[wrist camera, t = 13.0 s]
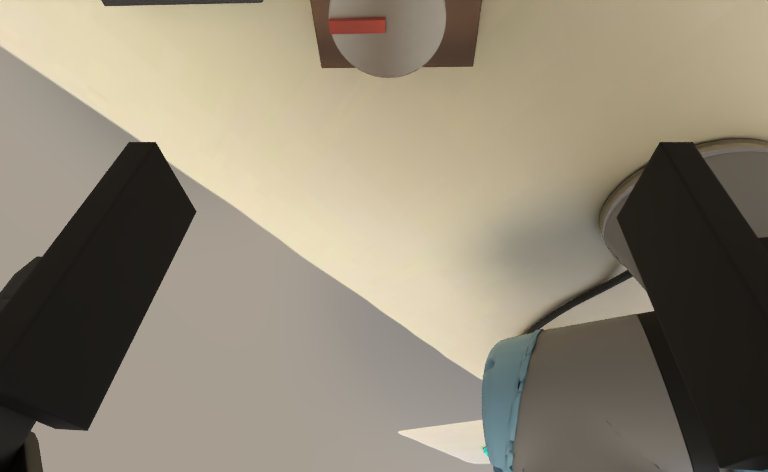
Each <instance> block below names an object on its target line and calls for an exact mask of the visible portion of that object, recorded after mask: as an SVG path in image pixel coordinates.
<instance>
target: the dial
mask: <svg viewBox="0 0 768 472" xmlns="http://www.w3.org/2000/svg"><path fill="white" fill-rule="evenodd" d="M445 25H446V8H445V0H330V5H329V29H330V34H332V37H333V39H334V42H335V44H336V46H337V47H338V49H339V51H340V52H341V54H342V55H343V56H344V57H345V58H346V59H347V60H348V61H349V62H350V63H351V64H352V65H353V66H355V67H356V68H357V69H359V70H361V71H362V72H365V73H367V74H370V75H373V76H377V77H383V78H393V77H400V76H404V75H407V74H410V73H412V72H414V71H416V70H417V69H419V68H421V67H422V66H423V65H424V64H426V63H427V62H428V61H429V60H430V59H431V57H432V56H433V55H434V54H435V52H436V51H437V49H438V47H439V45H440V43H441V41H442V38H443V35H444V31H445Z"/></svg>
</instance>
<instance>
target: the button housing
mask: <svg viewBox="0 0 768 472" xmlns="http://www.w3.org/2000/svg"><path fill="white" fill-rule="evenodd" d="M102 2H103V4H104V6H130V5H176V4H221V3H262V2H263V0H102Z"/></svg>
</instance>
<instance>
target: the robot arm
mask: <svg viewBox="0 0 768 472" xmlns="http://www.w3.org/2000/svg"><path fill="white" fill-rule="evenodd" d="M195 213H196V210H195V208H194V207H193V205H192V203H191V202H190V200H189V198H188V196H187V195H186V193H185V191H184V190H183V188H182V186H181V185H180V183H179V181H178V179H177V178H176V176H175V174H174V173H173V171H172V170H171V168H170V166H169V164H168V162H167V161H166V159H165V157H164V156H163V154H162V152H161V150H160V149H159V147H158V145H157V144H156V142H129V143H128V144H127V146H126V147H125V148H124V150H123V151H122V152H121V154H120V155H119V156H118V158H117V159H116V160H115V162H114V163H113V165H112V166H111V167H110V168H109V169H108V171H107V172H106V173H105V175H104V176H103V177H102V179H101V180H100V182H99V183H98V184H97V185H96V187H95V188H94V189H93V191H92V192H91V193H90V195H89V196H88V197H87V199H86V200H85V201H84V203H83V204H82V205H81V207H80V208H79V209H78V211H77V212H76V213H75V214H74V216H73V217H72V218H71V220H70V221H69V222H68V224H67V225H66V226H65V228H64V229H63V230H62V232H61V233H60V234H59V236H58V237H57V238H56V239H55V241H54V242H53V243H52V245H51V246H50V247H49V249H48V250H47V251H46V253H45V254H44V255H43V257H36V258H34V259H33V260H32V261H31V262H29V263H28V264H27V265H26V266H24V267H23V268H22V269H21V270H20V271H18V272H17V273H16V274H14V276H13V277H12V278H11V280H10V281H9V282H8V283H7V285H6V286H5V287H4V288H3V290H2V291H1V292H0V472H43V469H42V463H41V456H40V449H39V443H38V440H37V438H36V435H35V434H34V433H33V432H31V429H32V427H33V425H34V424H35V422H36V421H38V422H40V423H43V424H45V425H47V426H50V427H52V428H55V429H69V430H84V431H87V430H88V428H89V427H90V425H91V423H92V421H93V419H94V417H95V415H96V413H97V411H98V409H99V407H100V405H101V403H102V401H103V399H104V397H105V395H106V393H107V391H108V388H109V387H110V385H111V383H112V381H113V379H114V376H115V374H116V373H117V370H118V368H119V367H120V364H121V362H122V360H123V358H124V356H125V354H126V352H127V350H128V348H129V346H130V344H131V342H132V340H133V338H134V336H135V334H136V332H137V330H138V328H139V326H140V324H141V322H142V320H143V318H144V316H145V314H146V312H147V310H148V308H149V306H150V304H151V302H152V300H153V298H154V296H155V294H156V292H157V290H158V288H159V286H160V284H161V282H162V280H163V278H164V276H165V274H166V272H167V269H168V268H169V266H170V264H171V262H172V260H173V258H174V256H175V254H176V252H177V250H178V247H179V246H180V244H181V242H182V240H183V237H184V236H185V234H186V232H187V230H188V227H189V225H190V223H191V221H192V219H193V217H194V215H195ZM599 226H600V230H601V233H602V236H603V239H604V241H605V244H606V246H607V247H608V249H609V250H610V252H611V253H612V254H613V255H614V256H615V257H616V258H617V259H618V260H619V261H620V262H622V264H623V265H624V266H625V267H626V268H627V271H625V272H623V273H621V274H620V275H618V276H616V277H614V278H612V279H610V280H608V281H607V282H605V283H603V284H601V285H599V286H597V287H595V288H593V289H592V290H590V291H588V292H586V293H584V294H582V295H580V296H578V297H576V298H574V299H573V300H571V301H569V302H567V303H566V304H564V305H562V306H561V307H559V308H557V309H556V310H554V311H553V312H551V313H550V314H548V315H547V316H546V317H544V318H543V319H541V320H540V321H539V322H538V323H536V324H535V325H534V326H533V327H532V328H531V329H530V330H529V331H528V332H527V333H526V334H525V335H520V336H516V337H512V338H507V339H504V340H502V341H500V342H498V343H497V344H496V345H495V346H494V347H493V348H492V350H491V351H490V353H489V355H488V358H487V361H486V364H485V369H484V375H483V384H482V418H483V429H484V437H485V443H486V448H487V453H488V457H489V460H490V462H491V464H492V465H493V469H494V472H768V142H764V141H760V140H753V139H728V140H719V141H713V142H707V143H703V144H699V145H694V144H693V142H660V143H659V145H658V146H657V148H656V150H655V152H654V153H653V155H652V157H651V159H650V160H649V162H648V164H647V165H646V166H645V167H644V168H642V169H640V170H639V171H637V172H636V173H634V174H633V175H632V176H630V177H629V178H628V179H626V180H625V181H624V182H623V183H622V184H621V185H620V186H619V187H617V189H616V190H615V191H614V192H613V193H612V194H611V195H610V197H609V198H608V199H607V201H606V203H605V204H604V206H603V208H602V211H601V214H600V219H599ZM631 277H634V278H635V279H636V280H637V281H638V282H639V283H640V285H641V286H642V287H643V288H644V289H645V290H646V291H647V293H648V296H649V298H650V301H651V303H652V305H653V308H654V310H655V311H652V312H647V313H641V314H634V315H628V316H622V317H617V318H611V319H605V320H599V321H594V322H588V323H582V324H577V325H571V326H565V327H559V328H554V329H548V330H544V329H540V328H542V327H543V326H544V325H546V324H547V323H549V322H550V321H551V320H553V319H555V318H556V317H558V316H559V315H561V314H562V313H564V312H566V311H567V310H569V309H571V308H573V307H575V306H576V305H578V304H580V303H582V302H584V301H586V300H588V299H590V298H592V297H594V296H596V295H598V294H600V293H602V292H604V291H606V290H608V289H610V288H612V287H613V286H615V285H617V284H619V283H621V282H623V281H625V280H627V279H629V278H631Z"/></svg>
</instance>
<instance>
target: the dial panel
mask: <svg viewBox="0 0 768 472" xmlns="http://www.w3.org/2000/svg"><path fill="white" fill-rule="evenodd" d="M310 2H311V8H312V14H313V20H314V25H315V31H316V37H317V43H318V49H319V55H320V61H321V67H322V68H356V67H355V66H353V65H352V64H351V63H350V62H349V61H348V60H347V59H346V58H345V57H344V56H343V55H342V54H341V52H340V51H339V49H338V47H337V46H336V44H335V42H334V39H333V37H332V34H330V29H329V5H330V0H310ZM481 3H482V0H445V8H446V25H445V31H444V35H443V38H442V41H441V43H440V45H439V47H438V49H437V51H436V52H435V54H434V55H433V56H432V57H431V59H430V60H429V61H428V62H427V63H426V64H424V65H423V66H422V67H471V66H473V63H474V56H475V48H476V41H477V33H478V26H479V18H480V11H481Z"/></svg>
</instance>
